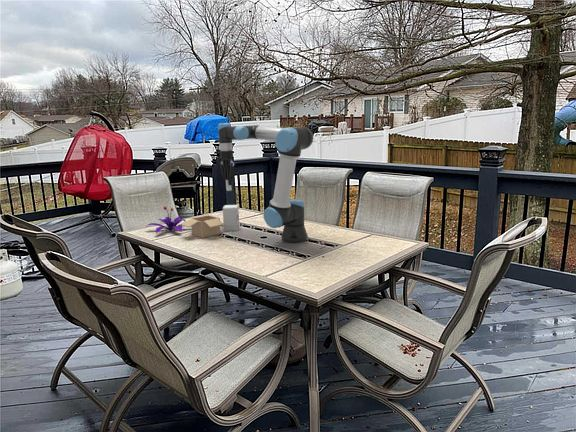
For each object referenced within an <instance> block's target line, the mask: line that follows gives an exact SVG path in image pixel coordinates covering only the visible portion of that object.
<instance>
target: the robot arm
mask: <svg viewBox="0 0 576 432" xmlns="http://www.w3.org/2000/svg"><path fill="white" fill-rule="evenodd" d="M217 125H218V127H217V129H218V130H217V132H218V143H219V144H218V145H219V157H220V158H221V161H219V165H220V169H221V174H222V179H224V180H225V188H226V191H227V192H230V191H232V190H233V189H232V184H233V182H232V179H234V178H235V166H236V161H235V162H234V161H233V157H234V150H233V149H234V148H233V140H234V141H243V140H262V141H271V142H274V143H275V144H274V145H275V146H276V149H277V154H278V155H279V161H278V166H277V167H278V168H277V173H276V180H275V186H274V192H273V196H272V197H273V198H272V199H271V200H269V205H268V207H266V209H264V211H263V213H262V214H263V219H264V221H265V224H266V225H267V226H268V227H269V228H271V229H279V228H282V227H283V229H282V233H281V236H280V238H281V239H280V240H281V241H282V242H284V243H289V244H296V243H297V244H298V243H303V242H306V241H308V236H309V235H308V233H307V229H306V227H305V203H304V201H303V200H301V199H300V200H299V199H294V198H293V199H292V198H291V192H292V186H293V182H294V181H293V180H294V175H295V171H296V170H295V169H296V164H297V159H298V158H300V157H301V155H302V151H303V150H307V149H308V148H310V147H311V146H312V144H313V141H314V135H313V132H312V130H311V129H309V128H308V127H305V126H295V127H293V126H292V127H284V128H283V127H274V126H273V127H272V126H262V125H256V124H253V125H237V126H234V125H233V126H232V124H231V122H227V123H226V122H224V123H223V122H222V123H221V122H220V123H218V124H217ZM290 198H291V199H290Z"/></svg>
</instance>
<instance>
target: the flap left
mask: <svg viewBox="0 0 576 432" xmlns="http://www.w3.org/2000/svg"><path fill="white" fill-rule="evenodd" d="M192 218H193V217H192ZM192 218H189V219H187V220H186V222H185V221H183V223H181V224H182V225H181V226H182V227H186V228H191V226H193V225H194V224H196V223H198V222H199V221H198V220H195V219H192Z"/></svg>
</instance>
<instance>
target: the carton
mask: <svg viewBox="0 0 576 432" xmlns="http://www.w3.org/2000/svg"><path fill="white" fill-rule="evenodd" d="M216 218H218V219H219V220H220V221H221V219H220V217H218V216H215V215H210V214H209V215H208V214H207V215H201V216H196V217H192V219H195V220H198V221H199V222H198V223H196V224H194V225H193V226H191V227H190V228H191V229H190V230H191V235H193V236H195V237H197V238H200V239H208V238H211V237H215V236H220V235H221V228H224V225H220V226H216V227H211V228H210V227H209V226H208V225H207V224H206V223H205V222H204V221H206V220H211V219H216Z"/></svg>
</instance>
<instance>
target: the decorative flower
mask: <svg viewBox="0 0 576 432" xmlns="http://www.w3.org/2000/svg"><path fill="white" fill-rule="evenodd" d="M163 210H165V211H166V212H167V216H166V217H165V218H164V219H163V218H157V220H158V221H159V222H160V223H163V224H165V225H166V226H165V225H163V224H160V223H156V222H152V223H151V222H150V223H148V224H147V225H146V226H145V228H147V227H148V226H158V227H157V228H156V229H155V234H158V233H159V232H160V231H161V230H162V229H166V230H168V231H169V232H170V231H171V232H172V231H173V230H174V229H176V230H177V231H179V232H181V233H182V232H183V228H182V227H183V225H182V223H181V222H186V221H187V220H186V219H185V218H181V216H177V217H175V218H174V220H172V211H174V208H173V207H171V208H170V212H169V210H168V209H167V206H163ZM169 213H170V214H169Z"/></svg>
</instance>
